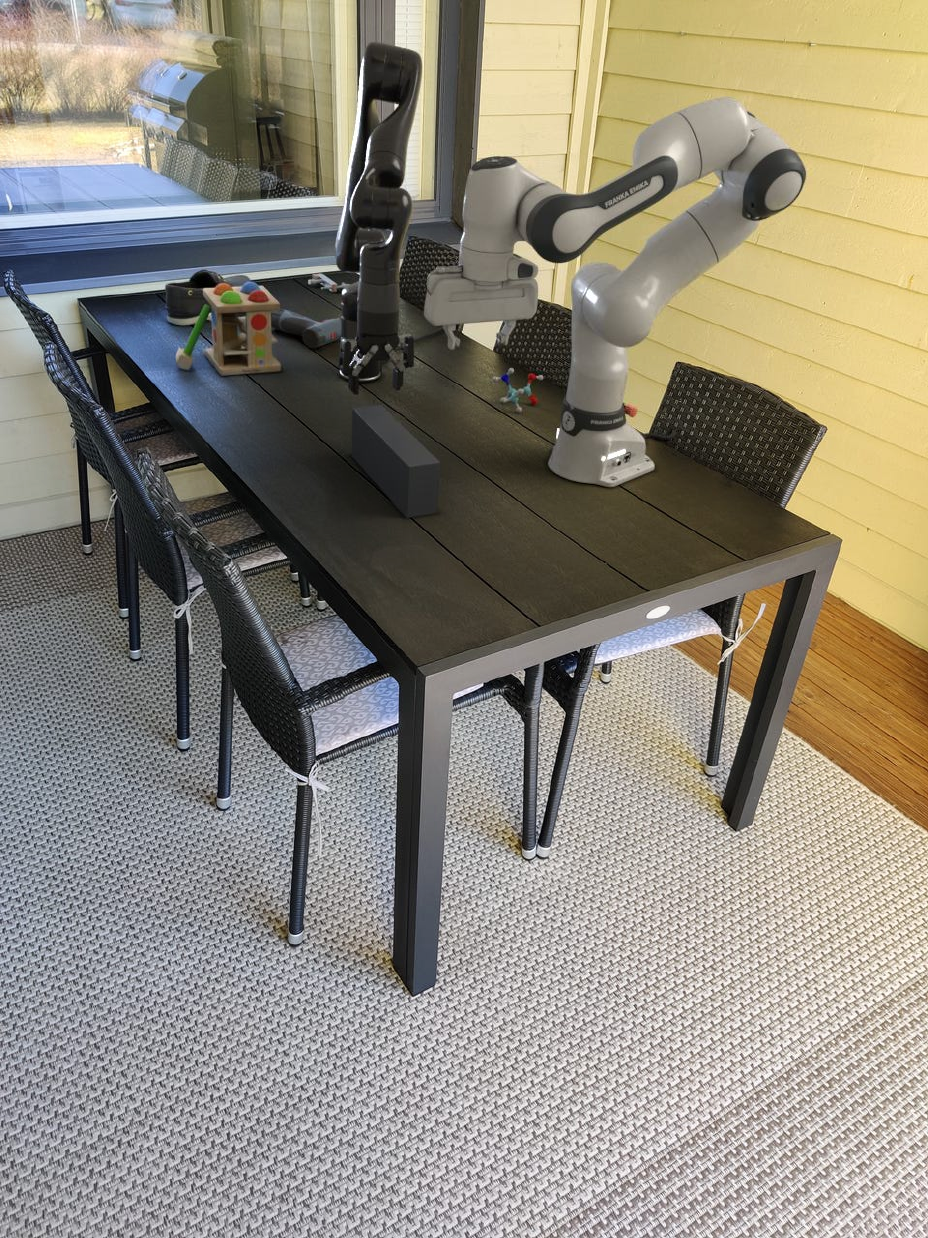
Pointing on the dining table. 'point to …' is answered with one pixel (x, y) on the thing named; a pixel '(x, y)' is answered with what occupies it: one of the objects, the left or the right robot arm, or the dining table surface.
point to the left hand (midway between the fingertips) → (375, 391)
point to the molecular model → (513, 392)
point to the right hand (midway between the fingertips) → (477, 346)
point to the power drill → (307, 327)
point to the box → (395, 461)
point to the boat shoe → (194, 295)
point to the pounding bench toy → (229, 347)
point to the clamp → (326, 282)
